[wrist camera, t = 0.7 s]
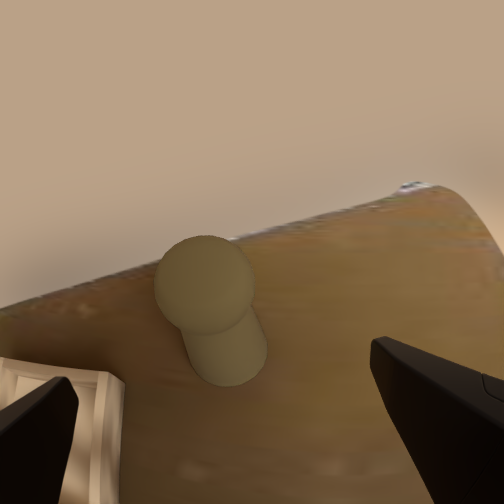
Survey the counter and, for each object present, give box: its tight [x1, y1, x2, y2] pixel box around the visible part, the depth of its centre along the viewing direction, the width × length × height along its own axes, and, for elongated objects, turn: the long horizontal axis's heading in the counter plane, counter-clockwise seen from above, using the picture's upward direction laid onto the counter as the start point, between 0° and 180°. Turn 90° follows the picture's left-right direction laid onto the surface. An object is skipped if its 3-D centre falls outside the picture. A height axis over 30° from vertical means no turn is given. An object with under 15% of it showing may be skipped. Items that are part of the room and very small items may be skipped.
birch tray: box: [0, 357, 125, 504], centre depth 17 cm, size 12×12×3 cm
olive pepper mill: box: [153, 236, 268, 387], centre depth 19 cm, size 6×6×11 cm
